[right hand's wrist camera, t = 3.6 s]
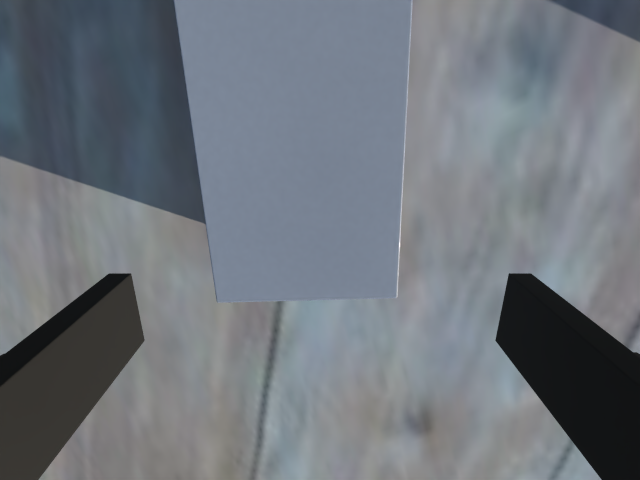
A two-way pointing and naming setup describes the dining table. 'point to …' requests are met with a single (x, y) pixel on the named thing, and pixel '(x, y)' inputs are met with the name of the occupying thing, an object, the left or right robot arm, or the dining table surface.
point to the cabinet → (299, 143)
